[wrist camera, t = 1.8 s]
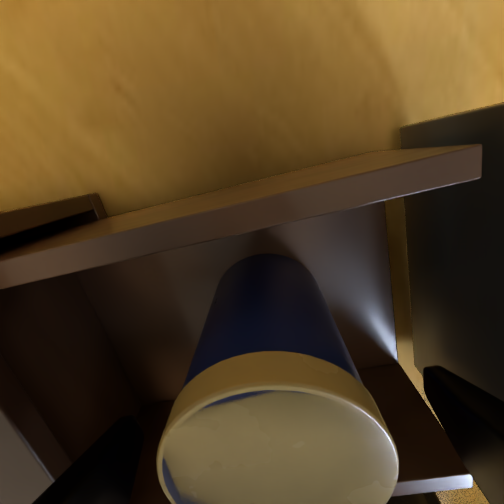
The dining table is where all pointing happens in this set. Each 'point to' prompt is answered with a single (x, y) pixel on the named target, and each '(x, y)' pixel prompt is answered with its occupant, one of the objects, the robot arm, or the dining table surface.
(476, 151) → the drawer
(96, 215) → the cabinet
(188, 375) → the tea tin
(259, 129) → the dining table surface
